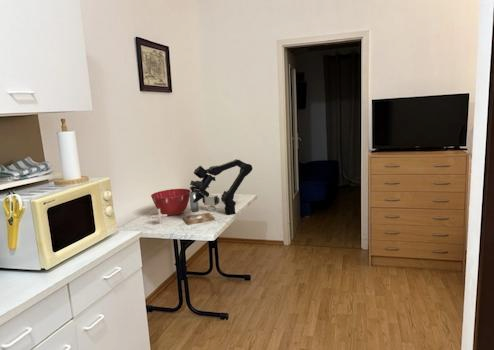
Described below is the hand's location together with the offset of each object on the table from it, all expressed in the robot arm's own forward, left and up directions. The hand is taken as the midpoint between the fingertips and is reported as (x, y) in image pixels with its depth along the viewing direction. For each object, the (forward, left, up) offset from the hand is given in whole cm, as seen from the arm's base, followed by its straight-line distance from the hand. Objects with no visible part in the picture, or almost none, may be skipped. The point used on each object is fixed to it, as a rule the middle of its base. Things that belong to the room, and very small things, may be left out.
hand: (192, 201), depth 248 cm
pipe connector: (+21, -9, -14) cm, 27 cm away
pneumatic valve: (-18, -21, -14) cm, 31 cm away
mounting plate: (-4, -2, -13) cm, 14 cm away
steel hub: (-1, 0, -7) cm, 7 cm away
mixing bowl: (+9, -31, -14) cm, 35 cm away
